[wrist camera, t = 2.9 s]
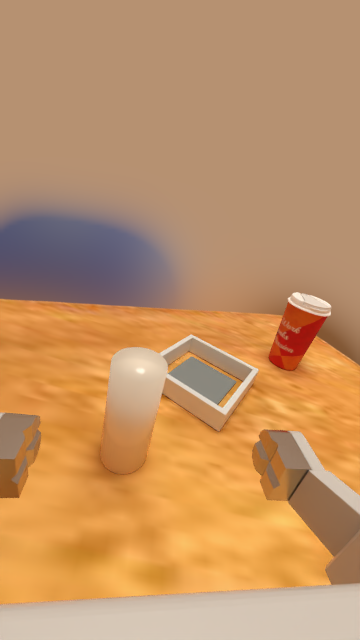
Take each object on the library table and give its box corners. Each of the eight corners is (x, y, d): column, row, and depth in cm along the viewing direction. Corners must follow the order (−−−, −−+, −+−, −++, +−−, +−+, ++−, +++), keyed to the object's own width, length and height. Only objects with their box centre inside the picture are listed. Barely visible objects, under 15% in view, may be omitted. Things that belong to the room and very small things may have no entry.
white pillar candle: (124, 484, 25) (142, 391, 20) (89, 452, 27) (98, 360, 22) (156, 450, 29) (178, 365, 24) (124, 424, 31) (138, 341, 26)
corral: (218, 431, 33) (225, 415, 32) (140, 378, 39) (143, 362, 38) (252, 383, 44) (259, 369, 43) (187, 347, 50) (191, 334, 49)
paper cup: (259, 348, 56) (284, 288, 50) (292, 354, 57) (320, 296, 51) (270, 370, 49) (301, 304, 43) (308, 377, 50) (343, 313, 44)
